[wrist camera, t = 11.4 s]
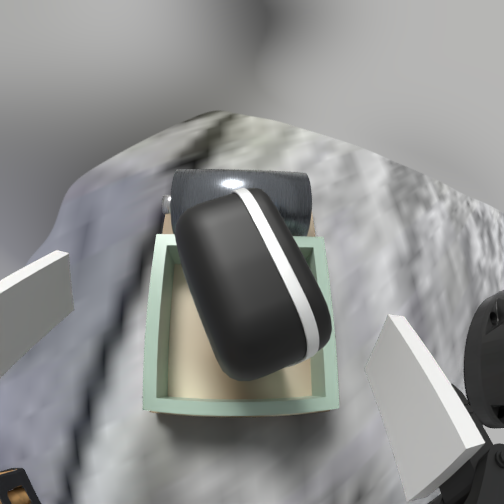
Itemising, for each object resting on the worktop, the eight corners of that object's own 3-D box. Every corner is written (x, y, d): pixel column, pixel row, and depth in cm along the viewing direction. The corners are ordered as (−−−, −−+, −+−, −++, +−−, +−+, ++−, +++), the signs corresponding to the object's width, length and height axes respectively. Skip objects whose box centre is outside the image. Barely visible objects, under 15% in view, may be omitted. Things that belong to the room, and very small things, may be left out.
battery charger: (192, 294, 20) (155, 193, 10) (243, 276, 21) (256, 163, 10) (230, 389, 17) (229, 396, 7) (284, 366, 18) (351, 340, 8)
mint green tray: (305, 208, 26) (324, 158, 20) (323, 409, 18) (360, 417, 12) (171, 205, 25) (157, 154, 19) (155, 410, 17) (123, 419, 11)
